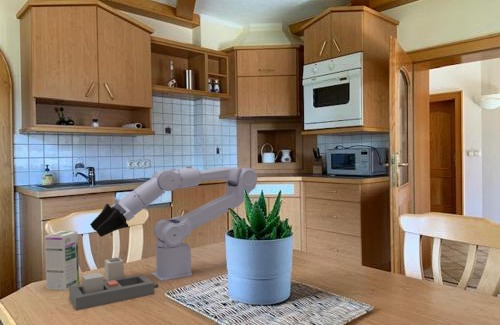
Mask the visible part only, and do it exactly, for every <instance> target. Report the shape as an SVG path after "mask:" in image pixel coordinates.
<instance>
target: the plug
mask: <svg viewBox="0 0 500 325" xmlns="http://www.w3.org/2000/svg"><path fill="white" fill-rule="evenodd" d="M124 263H125V262H124V260H123V259H122V258H120V257H113V258H112V257H111V258H108V259H104V280H111V279H116V278H122V277H124V276H125V274H124V273H125V272H124V270H125V268H124Z"/></svg>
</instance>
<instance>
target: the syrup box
mask: <svg viewBox="0 0 500 325" xmlns="http://www.w3.org/2000/svg"><path fill="white" fill-rule="evenodd" d="M78 238H79V237H78V231H75V230H59V231H57V232H53V233H50V234H46V235H45V236H44V245H45V246H44V251H45V256H44V257H45V275H46V277H45V279H46V290H50V291H51V290H55V291H68V290H69V287H72V286H77V285H80V269H79V268H80V265H79V239H78Z"/></svg>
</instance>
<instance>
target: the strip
mask: <svg viewBox="0 0 500 325" xmlns="http://www.w3.org/2000/svg"><path fill="white" fill-rule="evenodd" d="M103 280H105V279H104V275H103V274H102V273H101V272H93V273H87V274H82V276H81V283H82V284H77V285H75V286H72V287H69V289H68V291H69V293H68V294H69V295H68V296H69V298H68V299H69V300H70V302H71V304H72V305H73V308H74V309H75V311H78V310H80V311H81V310H84V309H89V308H94V307H99V306H103V305H107V304H108V305H109V304H113V303H117V302H123V301H126V300H127V301H128V300H132V299H136V298H141V297H145V296H150V295H155V289H156V288H159V283H156V284H155V282H154V281H153V280H152V279H150V278H149V277H147V276H146V275H145V274H144V273H140V274H139V273H138V274H133V275H128V276H125V277H122V278H116V279H111V280H105V281H103Z"/></svg>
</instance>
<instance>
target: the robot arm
mask: <svg viewBox="0 0 500 325" xmlns="http://www.w3.org/2000/svg"><path fill="white" fill-rule="evenodd" d="M212 180H215V181H216V180H223V181H225V182H226V193H225V194H223V195H221V196H220V197H217V198H215V199H213V200H211V201H209V202H207V203H205V204H203V205H201V206H200V207H197V208H195V209H193V210H191V211H189V212H187V213H184V214H182V215H178V216H174V217H172V218H169V219H165V218H164V219H161V220H159V221H158V222H156V224H155V225H154V228H153V235H154V236H155V238H156V239H157V241H156V244H155V245H156V246H155V247H156V248H155V251H156V253H155V254H156V255H155V256H156V261H155V262H156V271H153V272H151V275H153V277H155V278H156V279H158V280H159V281H161V282H164V281H168V280H174V279H179V278H184V277H188V276H193V273H192V251H191V247H190V245H189V244H188V243H187V242H183V241H184V240H185V239H186V238H187V237H189V236H190V235H191V234H192V231H193V230H195V229H198V228H199V227H201V226H203V225H205V224H207V223H208V222H209V223H210V221H213V220H215V219H216V218H219V217H220V216H222V215H224V214H226V213H228V212H229V210H228V208H231V209H232V210H234V209H236V208H237V207H239V206H241V205H242V204H243V202H244V201H245V200H244V189H246V191H247V193H248V195H249V194H250V193H251V192H252V191H253V190H255V189H256V185H257V182H258V174H257V172H256V170H254V168H251V167H245V168H244V167H237V166H236V167H233V166H222V167H214V168H210V169H203V170H199V169H198V168H197V167H195V166H192V165H186V166H185V167H183V168H175V167H171V168H170V169H168V170H165V169H164V170H163V169H162V170H161V169H160V170H158V171H155V172H154V174H152V177H151V178H150V179H149V180H147V181H145V182H143V183H142V184H141V185H139V186H138V187H136V188H135V189H133V190H132V191H131V192H129V193H128V194H126V195H125V196H123V197H122V198H120V199H119V198H118V196H117V197H114V201H115V203H114V204H112V205H111V206H110V204H109V203H106V204H105V205H104V207H103V209H102V210H101V212H100V213H99V214H98V216H96V218H94V220H93V221H92V222H91V223H90V224H89V225H90V226H91V228H92V229H93V230H94V231H95V232H96V233H97V234H98V235H99V237H104V236H107V235H108V234H111V233H112V232H115V231H118V230H120V229H126V228H129V224H128V222H129V221H130V220H132V219H133V218H134V217H135V216H136V215H137V214H138V213H140V212H141V211H143V210H144V209H145V208H147V207H148V206H150V205H151V204H152V203H154V202H155V201H156V200H157V199H158V198H160V197H161V196H163V195H164V194H165V193H166V192H173V191H175V190H177V189H185V188H192V187H193V188H194V187H198V186H199V184H200V183H202V182H203V181H205V182H206V181H212Z"/></svg>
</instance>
